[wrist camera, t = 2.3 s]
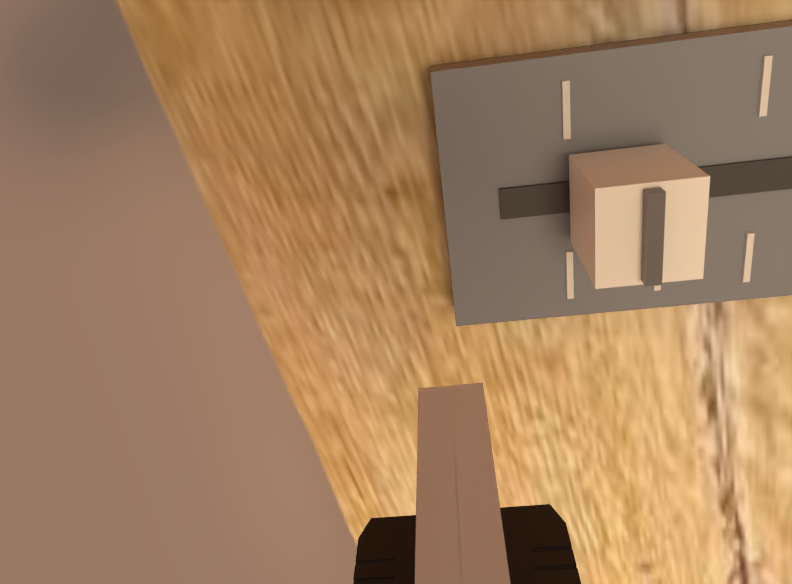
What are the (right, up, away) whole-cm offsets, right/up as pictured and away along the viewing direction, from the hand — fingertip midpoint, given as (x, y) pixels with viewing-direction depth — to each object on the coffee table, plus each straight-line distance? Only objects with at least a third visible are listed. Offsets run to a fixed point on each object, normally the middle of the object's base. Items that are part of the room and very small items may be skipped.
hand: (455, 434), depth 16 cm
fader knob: (+8, +8, +13) cm, 17 cm away
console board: (+14, +9, +15) cm, 23 cm away
